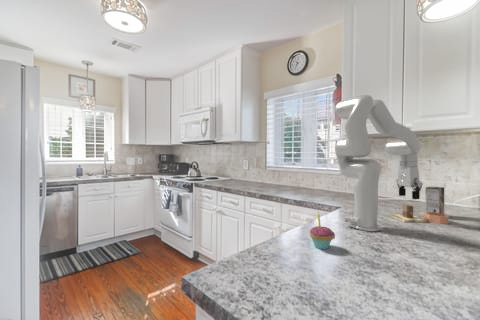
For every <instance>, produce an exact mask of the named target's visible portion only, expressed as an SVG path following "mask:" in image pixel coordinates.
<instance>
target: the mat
mask: <svg viewBox="0 0 480 320" xmlns="http://www.w3.org/2000/svg"><path fill="white" fill-rule="evenodd" d="M388 217H389V218H391V219H394V220H396V221H399V222H402V223H404V224H405V223H407V224H409V223H411V224H413V223H414V224H418V223H419V224H428V223H429V222H428V221H427V223H426V222H403V221H400V220H398V219H395V218H393V217H390V215H389V216H388Z"/></svg>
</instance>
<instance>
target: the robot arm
mask: <svg viewBox="0 0 480 320" xmlns="http://www.w3.org/2000/svg"><path fill="white" fill-rule="evenodd" d="M334 111H335V114H336V116H337V117H338V118H339V119H341V120H342V119H343V120H346V121H345V126H344V131H345V137H342V138H340V139H338V140H337V141H336V144H335V145H334V152H335V156H336V159H337V162H338V166H339V170H340V173H341V174H342V176H343V177H345V178H347V179H348V178H349V179H357V182H356V183H355V185H354V190H353V199H354V201H353V202H354V203H353V215H351V217H349V218H348V217H344V218H343V222H344V223H348V224H350V227H352V228H353V229H356V230H360V231H365V232H380V231H382V225H380V224H379V223H378V222H379V220H378V219H379V218H378V215H379V213H378V211H379V209H378V207H379V181H380V180H379V179H380V176H381V172H382V171H381V170H382V167H381V164H380V162H378V160H376V159H372V158H365V157H368V156H370V155H371V153H372V145H371V141H370V137H369V134H368V128H367V120H369V121H370V123H371V124H372V126H373V127H374V129H375V130H376V132H378V134H380V135H381V134H382V135H385V136H390V137H394V138H396V140H395V139H394V140H391V141H388V142H387V143H386V144H385V146H384V149H385V152H386V153H387V154H388V155H391V156H399V167H398V171H397V178H396V180H395V181H396V183H397V184H396V185H397V188H398V196H399V197H402V196H403V197H406V190H407V189H406V187H407V188H411V196H412V197H411V199H412V200H420V198H421V197H420V192H421V190H422V187H423V185H424V183H423V182H422V181H421V180H420V171H419V163H418V158H419V157H418V156H419V155H418V153H420V150H421V144H420V140H419V138H418V137H417V136H416V135H417V134H415V132H414V131H413V130H411V129H410V128H409V127H407V126H405V125H403V124H401V123H399V122H396V120H395V119H394V117H393V115H392V114H391V112H390V111H389V109H388V107H387V105H386V104H385V103H384V101H383V100H382V99H373V97H372V96H371V95H369V94H362V95H358V96H354V97H351V98H348V99H345V100H341V101H339V102H337V104H336V105H335V108H334ZM412 190H413V191H412Z"/></svg>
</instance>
